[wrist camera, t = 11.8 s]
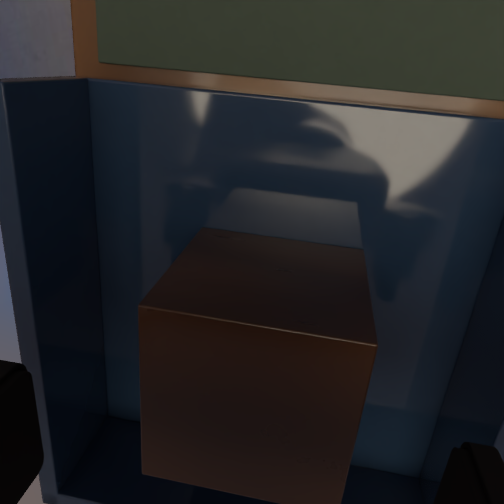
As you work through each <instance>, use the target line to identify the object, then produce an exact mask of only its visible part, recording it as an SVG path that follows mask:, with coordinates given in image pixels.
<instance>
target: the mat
mask: <svg viewBox="0 0 504 504" xmlns="http://www.w3.org/2000/svg"><path fill="white" fill-rule="evenodd" d="M95 5H96V25H97V44H98V61H99V62H100V63H107V64H118V65H128V66H139V67H149V68H160V69H170V70H181V71H191V72H202V73H212V74H223V75H233V76H244V77H255V78H265V79H276V80H286V81H297V82H307V83H318V84H328V85H339V86H349V87H360V88H370V89H381V90H392V91H402V92H413V93H423V94H434V95H444V96H455V97H465V98H476V99H486V100H497V101H504V0H95Z"/></svg>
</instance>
